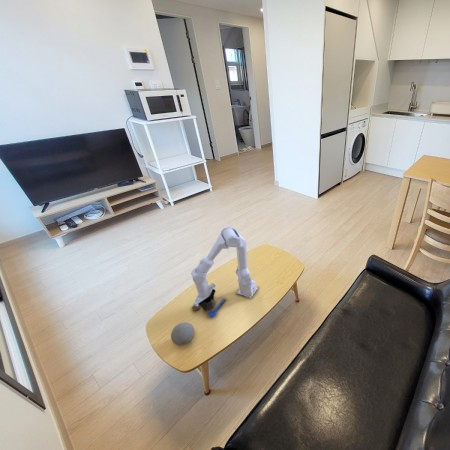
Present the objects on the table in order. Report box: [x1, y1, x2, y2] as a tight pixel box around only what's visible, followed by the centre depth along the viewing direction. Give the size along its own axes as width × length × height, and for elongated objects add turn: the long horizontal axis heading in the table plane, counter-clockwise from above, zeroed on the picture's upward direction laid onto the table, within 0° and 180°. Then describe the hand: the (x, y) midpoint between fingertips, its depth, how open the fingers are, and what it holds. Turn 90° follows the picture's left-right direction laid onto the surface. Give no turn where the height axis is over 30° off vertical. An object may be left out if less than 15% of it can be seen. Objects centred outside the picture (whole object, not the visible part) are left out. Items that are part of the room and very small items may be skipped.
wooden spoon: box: [192, 305, 201, 312], centre depth 133 cm, size 12×4×1 cm, turn 158°
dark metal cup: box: [203, 296, 215, 311], centre depth 130 cm, size 6×6×6 cm
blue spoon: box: [208, 298, 226, 318], centre depth 130 cm, size 12×4×1 cm, turn 158°
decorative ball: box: [170, 321, 195, 346], centre depth 113 cm, size 10×10×10 cm
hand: (208, 304), depth 131 cm, fingers closed on dark metal cup, 5 cm apart
